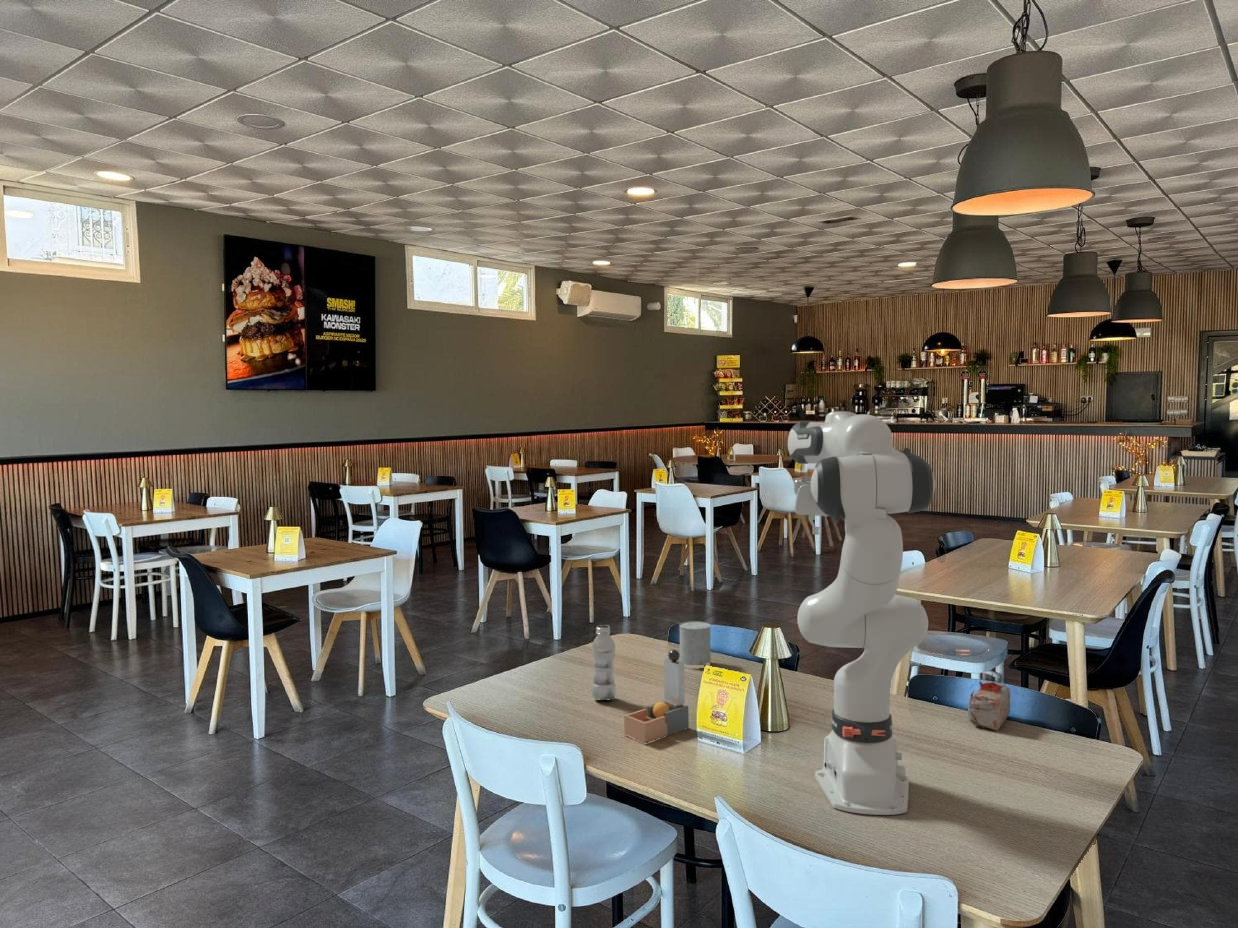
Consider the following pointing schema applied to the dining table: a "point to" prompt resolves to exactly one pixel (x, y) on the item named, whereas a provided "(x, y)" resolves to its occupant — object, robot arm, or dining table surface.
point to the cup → (644, 726)
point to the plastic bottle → (603, 664)
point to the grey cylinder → (695, 643)
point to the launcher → (673, 718)
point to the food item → (989, 705)
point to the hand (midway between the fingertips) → (835, 535)
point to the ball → (660, 709)
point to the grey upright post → (674, 681)
